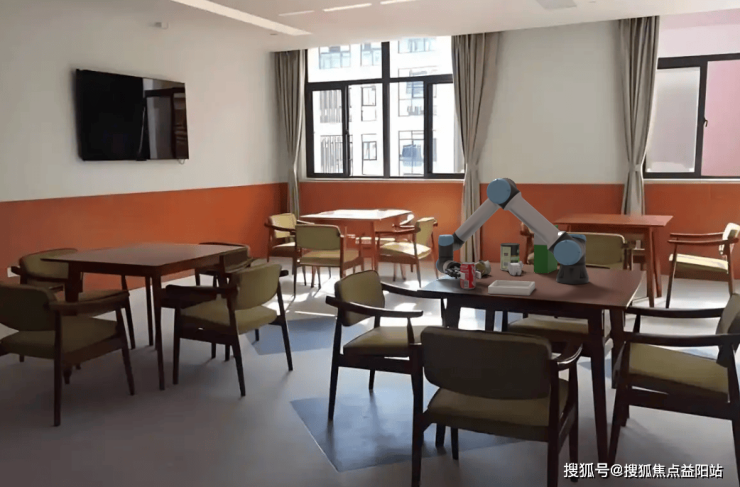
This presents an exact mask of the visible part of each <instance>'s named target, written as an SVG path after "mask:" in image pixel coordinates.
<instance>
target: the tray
mask: <svg viewBox="0 0 740 487" xmlns="http://www.w3.org/2000/svg"><path fill="white" fill-rule="evenodd" d="M535 289H536V281H528V280H527V281H525V280H524V281H523V280H505V279H504V280H503V279H502V280H500V279H495V280H494V281H493V282H492V283H490V285H488V286H487V290H488V292H487V294H491V295H493V294H495V295H510V296H511V295H512V296H513V295H515V296H530V295H531V294H532V293H533V291H534V290H535Z"/></svg>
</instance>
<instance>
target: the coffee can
mask: <svg viewBox="0 0 740 487" xmlns="http://www.w3.org/2000/svg"><path fill="white" fill-rule="evenodd" d="M499 245H500V270H501V271H505V272H507V271H508V272H509V270H508V269H507V268H508V262H510V263H518V262H519V261H520V246H521V245H520V243H519V242H518V243H517V242H502V243H500V244H499Z"/></svg>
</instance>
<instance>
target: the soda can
mask: <svg viewBox="0 0 740 487" xmlns="http://www.w3.org/2000/svg"><path fill="white" fill-rule="evenodd" d="M474 263H475V262H473V261H462V262H461V263H460V264H461V266H460V272H462V273H465V280H463V279H461V278H459V284H460V285H459V286H460V288H462V289H463V290H473V289H474V288H476V284H477V282H476V280H477V279H476V268H475V265H474Z"/></svg>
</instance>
